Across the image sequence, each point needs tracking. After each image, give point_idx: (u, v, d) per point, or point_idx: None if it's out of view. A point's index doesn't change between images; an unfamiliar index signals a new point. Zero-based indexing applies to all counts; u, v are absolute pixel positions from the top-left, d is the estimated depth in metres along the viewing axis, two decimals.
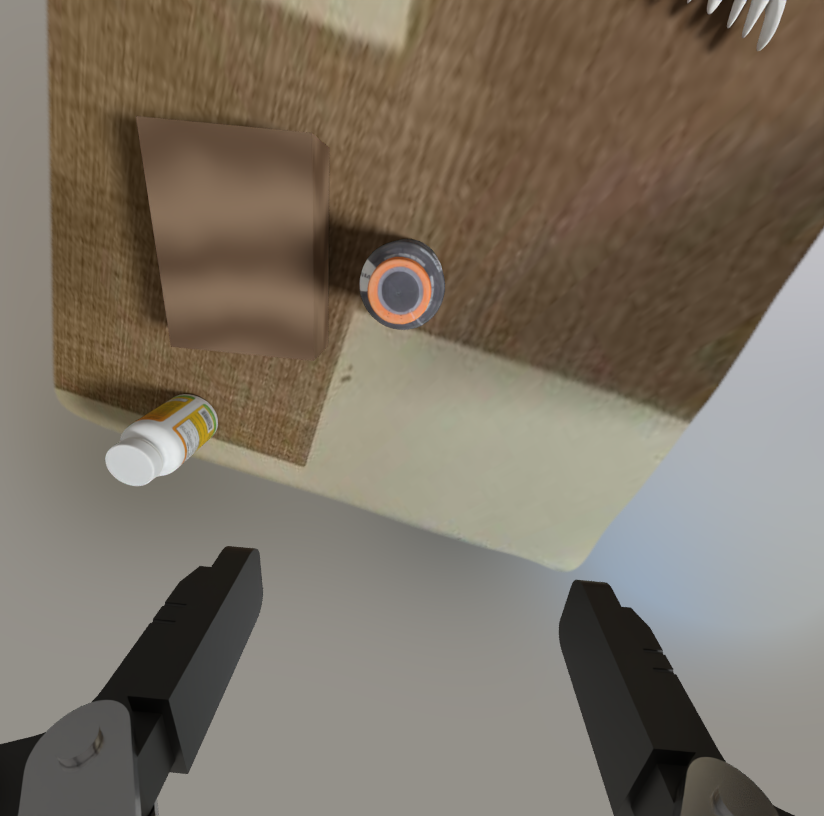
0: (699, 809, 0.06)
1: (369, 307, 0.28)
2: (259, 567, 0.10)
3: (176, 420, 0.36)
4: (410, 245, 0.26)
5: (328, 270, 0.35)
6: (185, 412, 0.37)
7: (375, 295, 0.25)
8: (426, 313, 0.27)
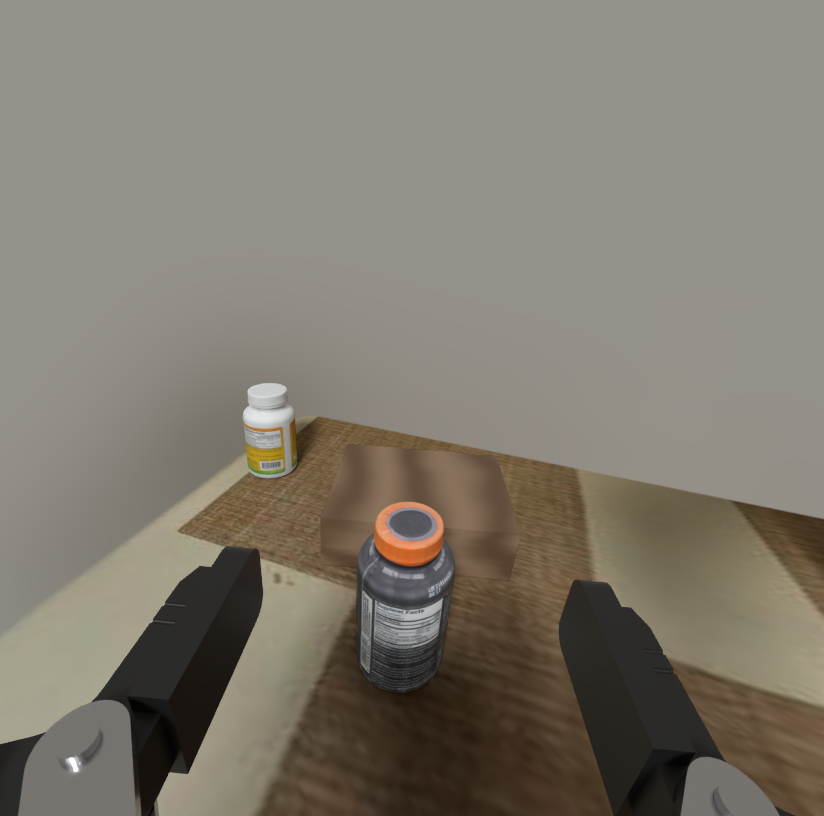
0: (699, 809, 0.06)
1: None
2: (259, 567, 0.10)
3: (285, 435, 0.43)
4: (452, 562, 0.24)
5: None
6: (287, 448, 0.44)
7: (405, 506, 0.24)
8: (380, 572, 0.22)
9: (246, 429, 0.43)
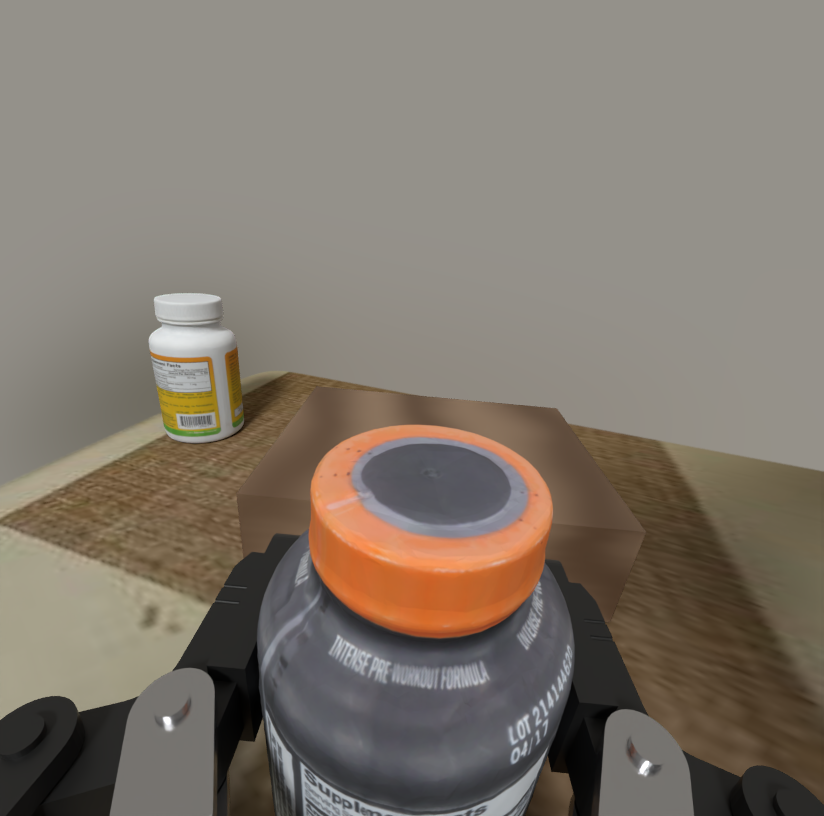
0: (617, 761, 0.06)
1: None
2: None
3: (217, 373, 0.27)
4: (566, 611, 0.07)
5: None
6: (221, 394, 0.28)
7: (416, 434, 0.08)
8: (319, 657, 0.06)
9: (153, 361, 0.26)
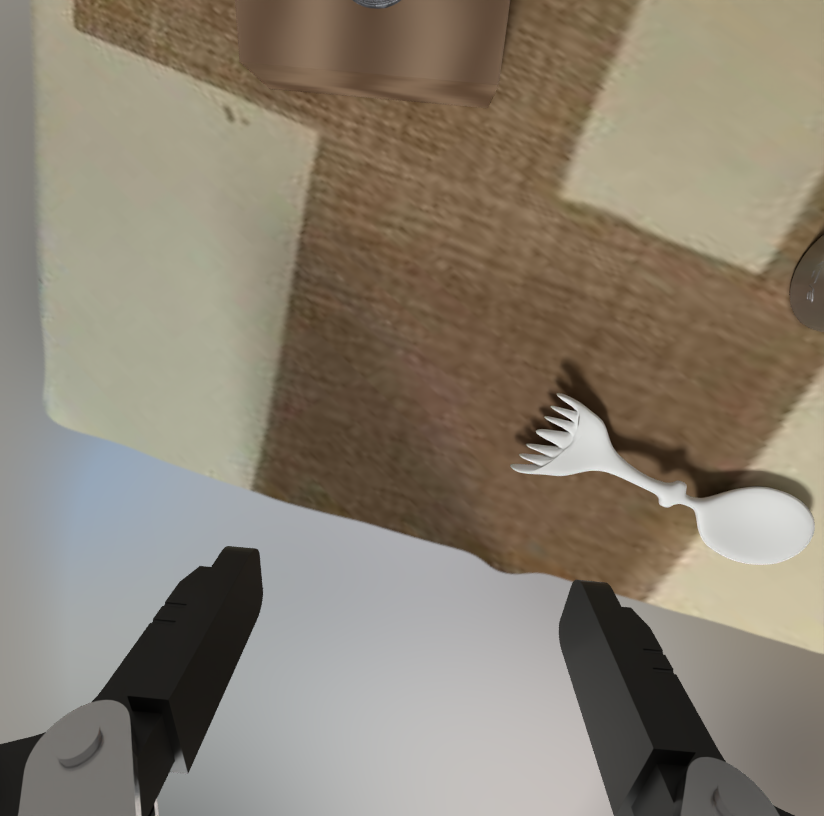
0: (699, 809, 0.06)
1: None
2: (259, 567, 0.10)
3: None
4: None
5: (361, 96, 0.29)
6: None
7: None
8: None
9: None
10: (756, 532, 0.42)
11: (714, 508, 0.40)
